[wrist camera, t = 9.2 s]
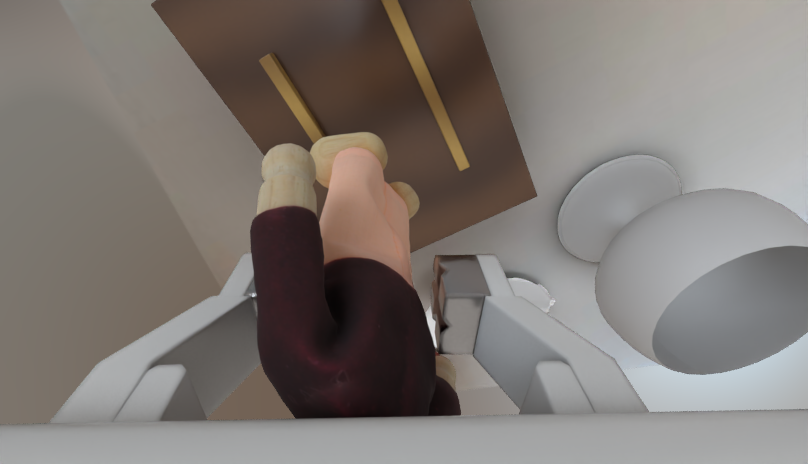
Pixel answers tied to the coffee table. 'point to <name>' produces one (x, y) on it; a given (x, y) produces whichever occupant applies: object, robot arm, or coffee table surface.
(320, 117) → the box with brass rails
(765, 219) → the chalice
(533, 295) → the white low-poly sculpture
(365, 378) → the grandmother figurine
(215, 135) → the coffee table surface
